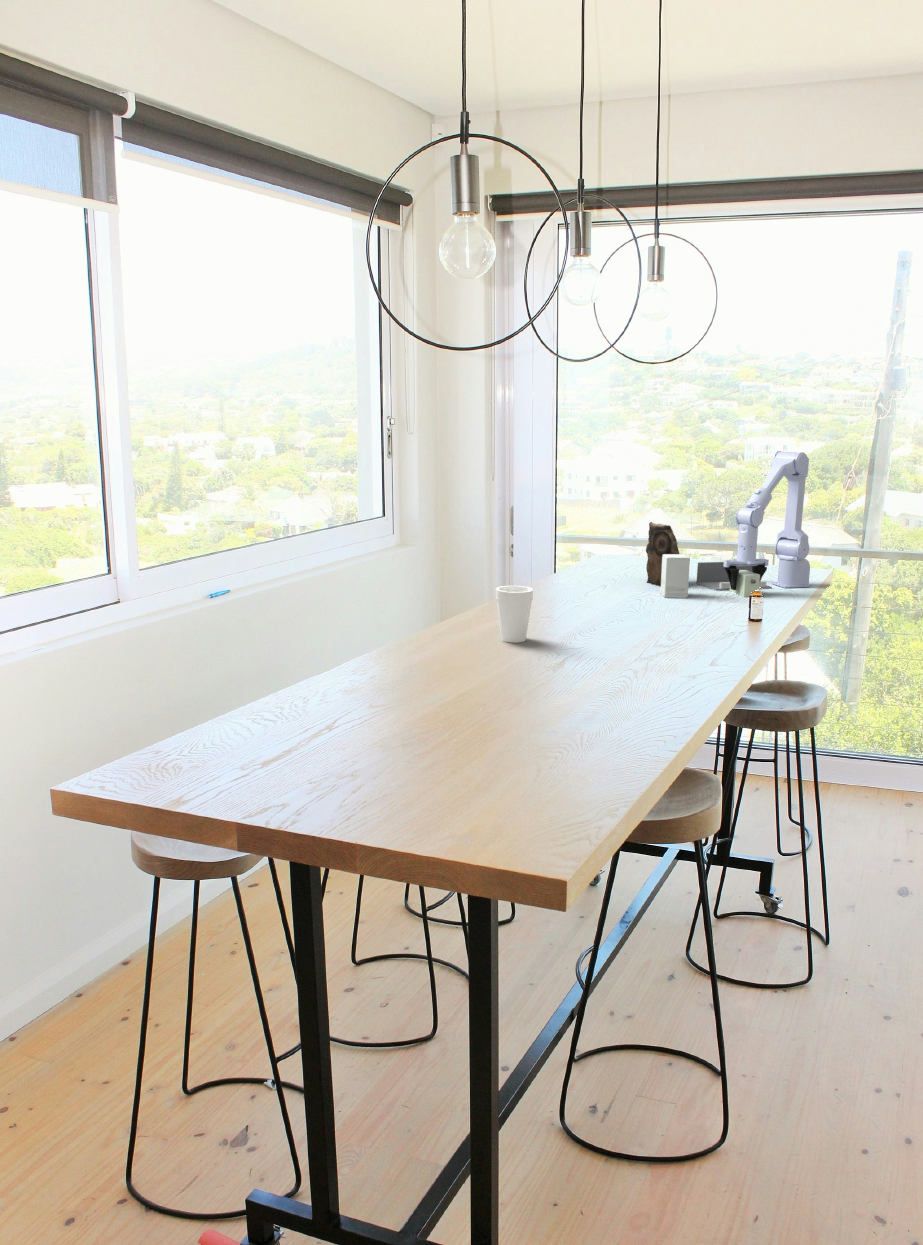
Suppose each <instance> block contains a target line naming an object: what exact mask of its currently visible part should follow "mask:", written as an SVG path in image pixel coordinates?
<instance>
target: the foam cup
mask: <svg viewBox="0 0 923 1245" xmlns="http://www.w3.org/2000/svg"><path fill="white" fill-rule="evenodd" d="M533 599H534V588H532V587H530V586H525V585H502V586H498V587H495V600H496V606H497V615H498V624H499V632H500V633H499V634H500V640H501V641H502V642H504V643H505V642H506V643H523V642H525V641H527V640H526V638H527V633H528V627H529V622H530V621H529V620H530V615H531V609H532V601H533Z"/></svg>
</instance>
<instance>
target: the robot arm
mask: <svg viewBox="0 0 923 1245" xmlns="http://www.w3.org/2000/svg"><path fill="white" fill-rule="evenodd" d="M809 463H810V458H809V457H808V455H807V454H806V453H805V452H802V451H801V452H798V451H797V452H793V451H781V450H777V451H776V452H774V454H773V455H772V458H771V459H770V470H769V471H768V473H767V475H766V477H765V479H764V481H763V484H761V487H759V488H756V489H755V490H754V491H753V493H752V495H751V496H750V498H749V499H748V501H747V502H746V504H745V505H744V506H743V507H740V508H739V509H738V510H737V512H736V516H735V523H736V525H737V529H736V530H737V531H738V537H737V552H736V553H737V554H736V558H735V559H728V560H727V559H726V560H725V559H723V562H724V564H723V566H724V567H725V571H726V573H727V575H728V578H729V582H730V587H731V589H732V590H736V586H737V577H738V573H739V569H737V568H736V567H739V566H752V571H753V573H756V574H759V575H760V581H762V578H763V577H764V575H765V573H766V572H767V569H768V568H767V567H769V561H770V560H769V559H767V558H757V551H758V550H757V548H758V547H757V546H758V534H759V527H760V525H762V523H763V520H764V515H765V510H766V509H767V507H768V505H769V504H770V502H771V501H772V499H773V496H772V493H773V491H774V490H775V488H776V487H777V486H778V484H780V482H781V480H782V479H783V478H785V479H787V480H786V481H787V492H786V494H787V495H786V505H785V517H784V527H783V530H781V531H780V532H778V533H777V535H776V541H775V543H774V547H773V548H774V550H773V551H774V553H775V555H776V556H777V559H778V571H777V572H778V573H777V581H775V582H773V581H772V582H771V584H772V585H775V586H778V587H781V588H785V589H788V588H792V589H793V588H810V587H811V585H810V575H811V574H810V573H811V572H810V571H811V565H810V561H809V560H808V559H806V557H808V555H809V552H810V543H809V535H808V534H807V533H806V532H804V531H803V530H802V525H803V524H802V523H803V514H804V503H805V492H806V491H805V489H806V482H807V481H806V480H807V479H806V478H807V477H808V476H809V466H810V465H809Z"/></svg>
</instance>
